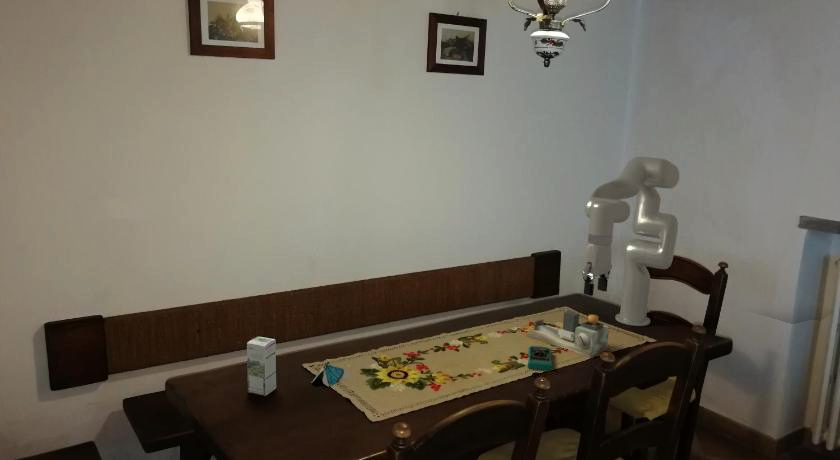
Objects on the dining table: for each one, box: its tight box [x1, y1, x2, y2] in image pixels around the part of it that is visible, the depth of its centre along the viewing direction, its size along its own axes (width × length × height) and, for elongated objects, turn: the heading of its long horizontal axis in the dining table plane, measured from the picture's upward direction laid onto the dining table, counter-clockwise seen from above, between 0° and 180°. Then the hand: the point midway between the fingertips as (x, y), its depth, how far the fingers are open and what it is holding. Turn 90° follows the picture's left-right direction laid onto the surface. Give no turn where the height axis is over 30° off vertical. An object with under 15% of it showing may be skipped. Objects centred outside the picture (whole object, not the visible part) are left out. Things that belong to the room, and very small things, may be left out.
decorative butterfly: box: [311, 358, 351, 388], centre depth 187 cm, size 10×6×10 cm
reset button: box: [587, 314, 599, 324], centre depth 215 cm, size 3×3×2 cm
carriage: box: [558, 310, 580, 341], centre depth 222 cm, size 7×5×9 cm
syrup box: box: [246, 336, 277, 397], centre depth 177 cm, size 6×6×14 cm
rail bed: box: [526, 318, 610, 358], centre depth 223 cm, size 12×25×9 cm, turn 44°
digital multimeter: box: [527, 345, 553, 372], centre depth 206 cm, size 7×15×3 cm, turn 170°
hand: (595, 292), depth 214 cm, fingers open, 7 cm apart
